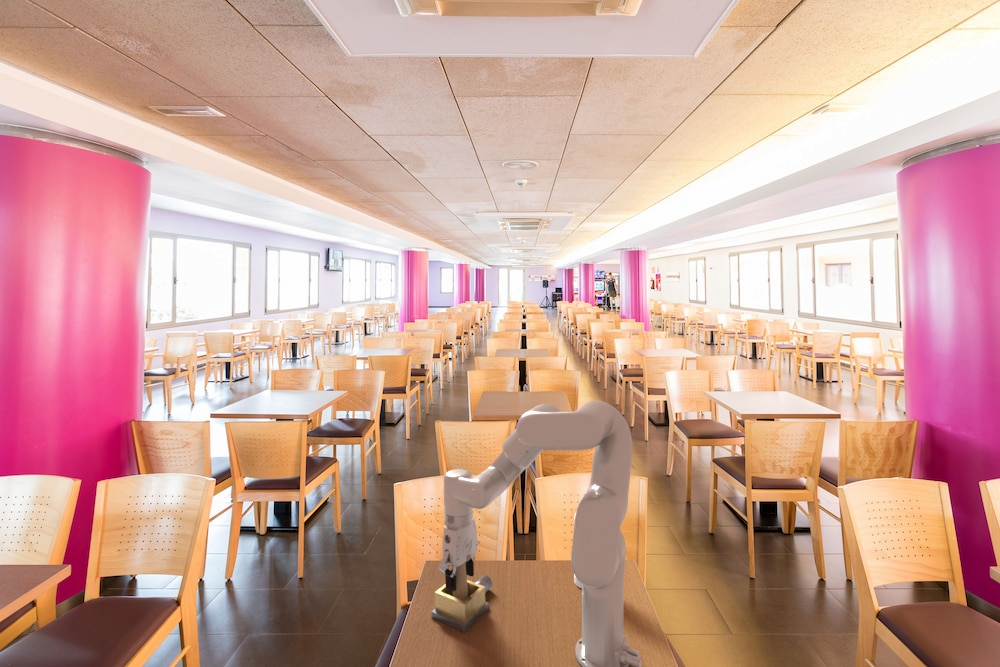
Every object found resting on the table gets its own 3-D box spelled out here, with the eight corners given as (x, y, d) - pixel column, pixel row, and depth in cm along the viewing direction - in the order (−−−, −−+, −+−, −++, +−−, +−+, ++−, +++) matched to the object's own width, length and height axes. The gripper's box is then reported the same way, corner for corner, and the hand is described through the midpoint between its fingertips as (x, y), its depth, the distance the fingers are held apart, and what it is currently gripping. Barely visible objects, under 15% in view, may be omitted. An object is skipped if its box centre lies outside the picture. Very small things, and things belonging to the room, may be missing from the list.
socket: (502, 594, 135) (502, 572, 134) (464, 632, 120) (464, 607, 119) (471, 582, 141) (471, 561, 140) (431, 617, 126) (431, 593, 125)
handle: (470, 614, 124) (468, 558, 123) (446, 612, 125) (444, 557, 124) (474, 602, 129) (472, 549, 128) (451, 600, 130) (449, 547, 129)
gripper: (449, 534, 116) (450, 604, 117) (488, 508, 131) (489, 570, 132) (426, 527, 120) (427, 594, 121) (466, 502, 135) (468, 562, 136)
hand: (460, 581), depth 127 cm, fingers open, 7 cm apart
